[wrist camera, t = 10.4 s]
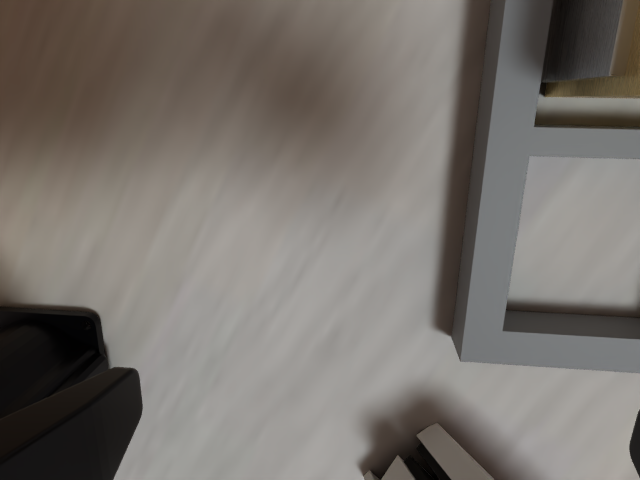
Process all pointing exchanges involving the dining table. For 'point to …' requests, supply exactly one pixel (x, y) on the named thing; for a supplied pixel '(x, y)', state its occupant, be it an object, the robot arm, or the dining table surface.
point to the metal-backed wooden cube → (593, 49)
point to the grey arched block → (436, 460)
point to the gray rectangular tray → (505, 208)
